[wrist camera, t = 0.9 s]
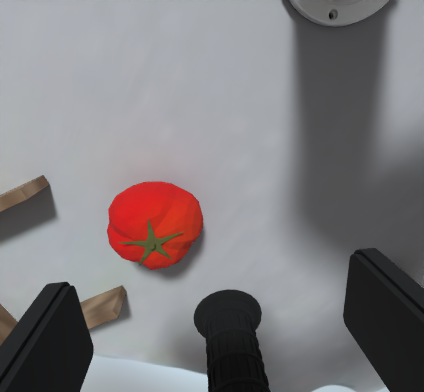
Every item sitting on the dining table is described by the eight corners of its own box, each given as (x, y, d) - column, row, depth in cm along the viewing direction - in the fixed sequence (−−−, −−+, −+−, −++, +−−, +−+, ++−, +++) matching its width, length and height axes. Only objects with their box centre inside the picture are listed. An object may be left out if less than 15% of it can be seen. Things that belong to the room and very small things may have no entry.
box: (43, 175, 31) (19, 188, 27) (126, 291, 38) (118, 317, 34) (-81, 233, 33) (-121, 254, 29) (20, 335, 39) (-1, 364, 35)
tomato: (102, 193, 32) (73, 227, 25) (180, 155, 31) (175, 178, 24) (143, 253, 36) (129, 299, 28) (214, 221, 35) (220, 260, 27)
